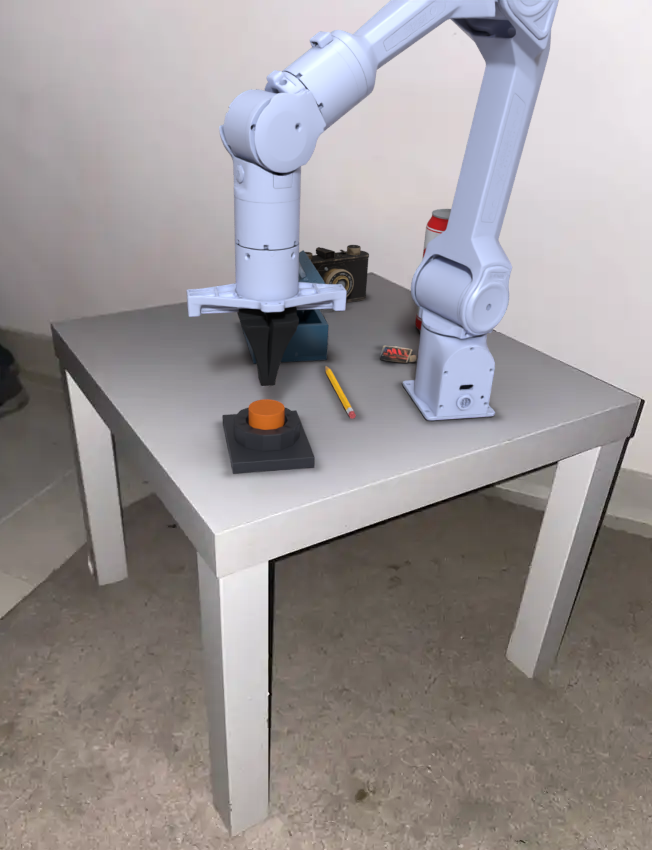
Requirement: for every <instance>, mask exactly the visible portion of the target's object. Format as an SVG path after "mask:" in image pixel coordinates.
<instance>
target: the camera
mask: <svg viewBox="0 0 652 850" xmlns="http://www.w3.org/2000/svg"><path fill="white" fill-rule="evenodd" d="M361 248H362V247H361V246H360V245H358V244H349V245H347V246H346V250H344V249H339V251H338V252H336V251H335V250H332V249H328V248H326V247H325V248H324V247H320V246H318V247H316V248H315V254H313V252H312V251H311V252H310V251H305V253H306V254H307V256H308V257H309V259H310V261H311V262H312V264H313V265H314V267H315V268H316V270H317V271H318V273H319V274H320V276H321V277H322V279H323V281H324V282H325V284H342V285H343V287H344V288H345V290H346V304H347V303H353V302H359V301H364V300H366V298H367V284H368V270H369V258H370V253H369V252H368V251H365V250H361Z"/></svg>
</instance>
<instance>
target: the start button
mask: <svg viewBox="0 0 652 850" xmlns="http://www.w3.org/2000/svg"><path fill="white" fill-rule="evenodd" d="M248 407H249V425H250V426H251V427H253V428H258V429H263V430H269V429H277V428H279V427H282V426H283V425H284V421H285V408H286V407H285V405H284V403H282V402H281V401H279V400H275V399H270V398H269V399H268V398H266V399H265V398H264V399H257V400H255V401H252V402H250V403H249V405H248Z"/></svg>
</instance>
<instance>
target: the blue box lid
mask: <svg viewBox="0 0 652 850" xmlns="http://www.w3.org/2000/svg"><path fill="white" fill-rule="evenodd" d="M305 252H306V251H305V250H304V249H302V250H301V251H299V276H298V282H305V283H317V284H325V282H324V281H323V279H322V277H321V276H320V274H319V273H318V271H317V270H316V268H315V267H314V265H313V264H312V262H311V261H310V259H309V257H308V256H307V254H306V253H305Z"/></svg>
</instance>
